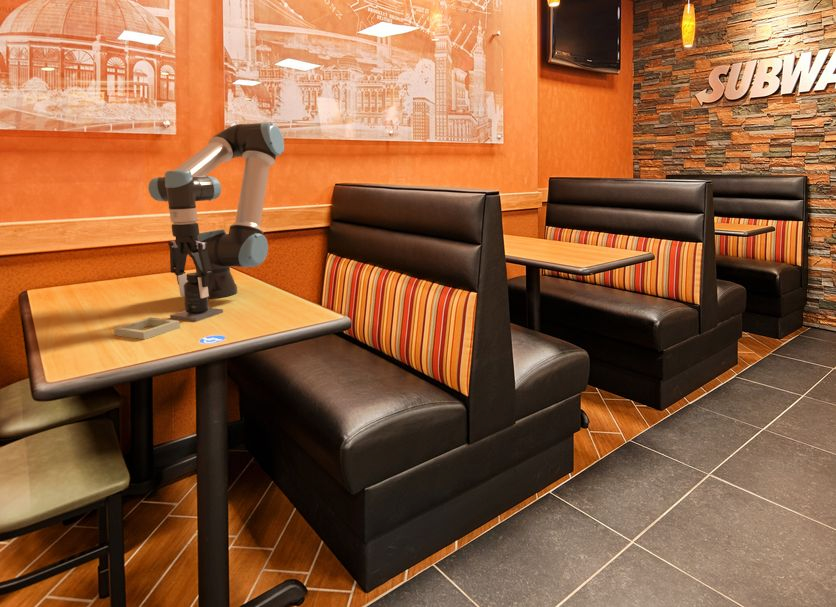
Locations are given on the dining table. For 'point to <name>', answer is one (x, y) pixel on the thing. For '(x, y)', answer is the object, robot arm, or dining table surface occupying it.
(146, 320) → the frame
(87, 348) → the dining table surface
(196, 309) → the supplement bottle
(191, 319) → the slate coaster
